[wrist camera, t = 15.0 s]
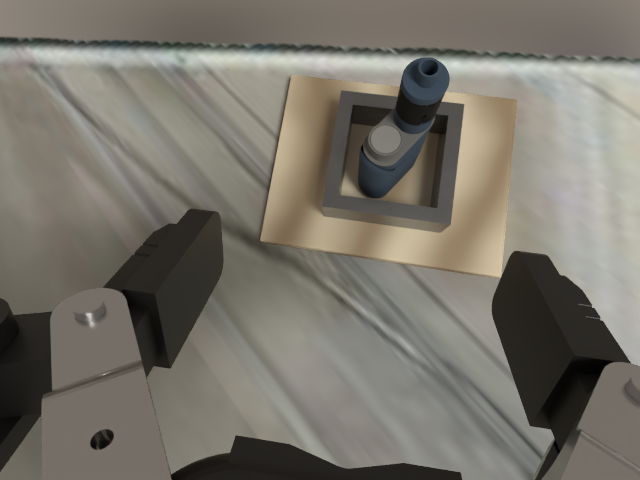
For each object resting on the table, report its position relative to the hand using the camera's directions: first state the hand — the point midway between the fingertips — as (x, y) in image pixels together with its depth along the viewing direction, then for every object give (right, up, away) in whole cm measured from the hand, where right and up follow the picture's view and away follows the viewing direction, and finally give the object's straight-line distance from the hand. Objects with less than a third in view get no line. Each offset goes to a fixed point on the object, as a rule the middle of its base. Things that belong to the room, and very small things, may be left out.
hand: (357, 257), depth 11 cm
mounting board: (+4, +6, +21) cm, 22 cm away
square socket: (+4, +6, +21) cm, 22 cm away
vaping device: (+4, +6, +20) cm, 21 cm away
